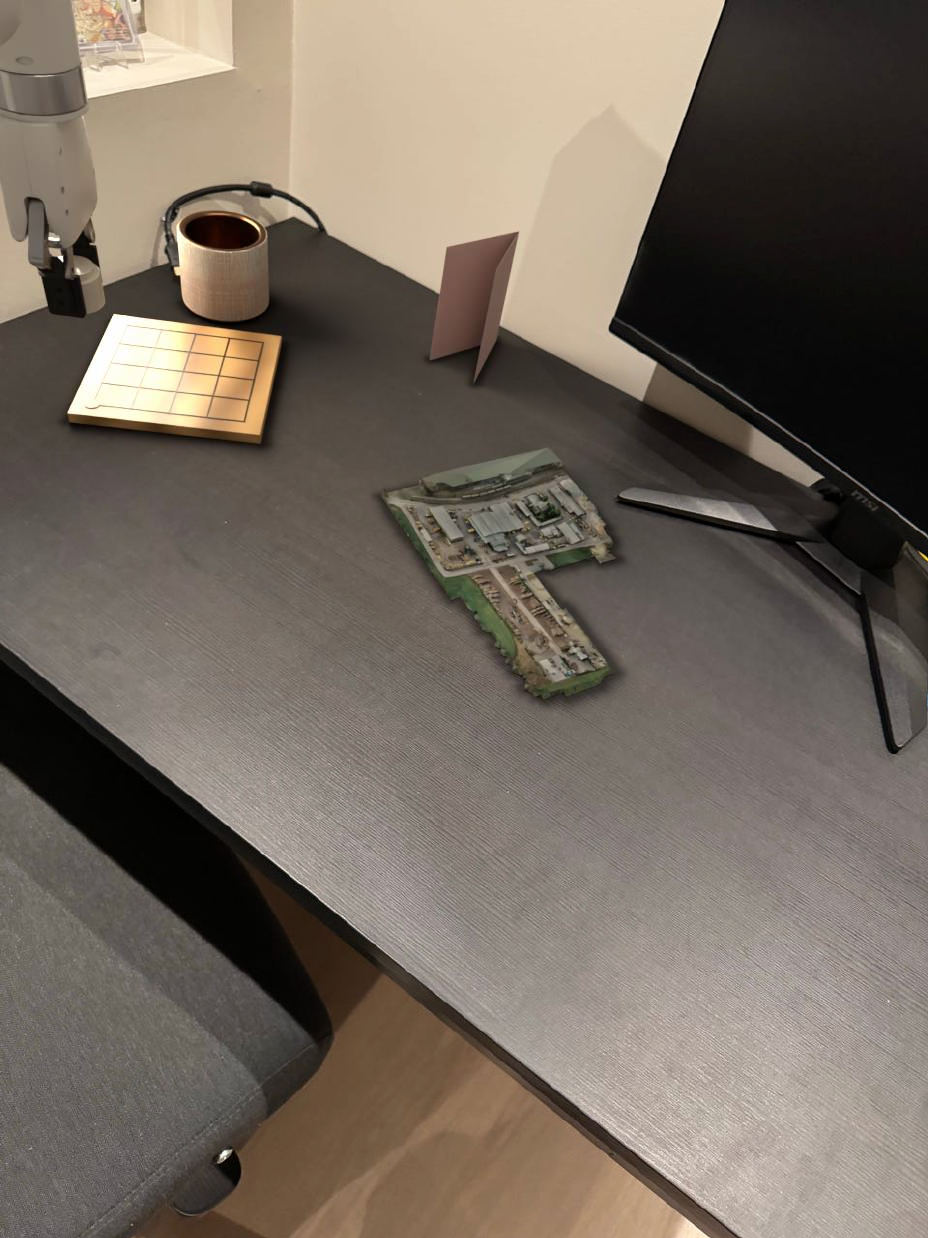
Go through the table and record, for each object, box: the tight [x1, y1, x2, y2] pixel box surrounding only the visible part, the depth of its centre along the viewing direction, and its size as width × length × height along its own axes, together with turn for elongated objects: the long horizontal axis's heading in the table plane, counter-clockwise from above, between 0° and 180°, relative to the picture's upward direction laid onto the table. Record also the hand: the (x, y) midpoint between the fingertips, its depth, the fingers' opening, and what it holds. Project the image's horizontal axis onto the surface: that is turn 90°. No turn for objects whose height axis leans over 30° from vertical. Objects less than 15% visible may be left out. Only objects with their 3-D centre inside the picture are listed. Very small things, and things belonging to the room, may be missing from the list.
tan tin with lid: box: [57, 255, 106, 315], centre depth 79 cm, size 5×5×4 cm
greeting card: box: [429, 230, 520, 383], centre depth 105 cm, size 11×7×15 cm, turn 129°
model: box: [381, 447, 617, 701], centre depth 86 cm, size 21×30×2 cm
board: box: [67, 313, 283, 445], centre depth 97 cm, size 20×20×1 cm
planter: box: [176, 209, 270, 324], centre depth 106 cm, size 11×11×10 cm
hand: (76, 297), depth 80 cm, fingers closed on tan tin with lid, 4 cm apart
